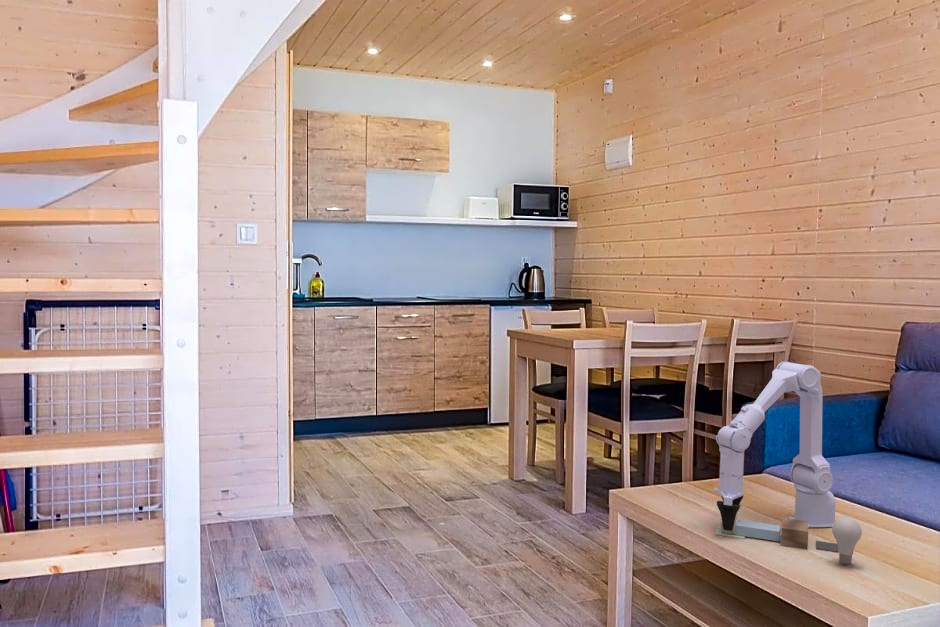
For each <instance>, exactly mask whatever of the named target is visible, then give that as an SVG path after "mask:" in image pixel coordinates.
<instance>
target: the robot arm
mask: <svg viewBox="0 0 940 627" xmlns="http://www.w3.org/2000/svg"><path fill="white" fill-rule="evenodd" d="M821 374H822V372H821V371H820V370H819V369H817V368H816V367H815V366H814V365H811V364H801V363H795V362H790V361H781V362H780V363H778V365H777V366H776V367H775V368H774V369H773V370H772V372H771V379H770V380H769V382H768V383H767V385H766V386H765V387H764V388H763V390H762V391H761V393H759V395H758V397H757V398H756V400H754V402H753V403H750V404H748V403H747V404H746V405H744V406H742V407H741V408H740V411H739V412H738V413H737V415H736V416H735V417H734V418H733V419H732V420H731V421H730V422H729V424H728V425H724V426H723V427H722V428H720V429H719V430H718V432H717V435H716V436H715V440H716V443H717V444H718V446H719V447H718V448H719V449H718V450H719V452H720V457H719V459H720V460H719V461H720V462H719V480H718V482H719V483H718V484H719V485H718V487H714V488H713V489H714V490H713V492H714V493H718V494H719V495H720V497H721V499H722V500H717V501H716V506H717V509H718V510H719V514H720V516H721V526H722V525H723V529H724V530H728V531H732V530H733V526H734V522H735V517H736V514H737V512H738V513H739V510H740V509H741V502H742V500H743V499H744V486H743V485H744V463H745V462H744V461H745V450H747V449H748V448H749V446H750V444H751V439H752V438H753V434H754V433H755V431H756V430H757V429H758V428H759V427H760V426H761V424H762V423H763V422H764V421H765V420H766V415H765V413H766V412H767V410H769V408H770V407H772V405H774V403H775V402H776V401H778V399H780V397H781V396H783V394H784V393H789V392H794V393H796V394H797V395H798V396H799V453H798V454H797V455H796V456H795V457H793V459H792V466H791V469H790V471H789V478H790V481H791V482H792V484H793V487H794V489H795V501H794V503H795V504H794V515H793V516H789V515H788V516H787V519H794V520H802V521H808V528H832V526H833V523H834V522H835V521H836V499H835V495H834V494H833V493H832V491H830V489H831V488H832V487H833V482H834V478H833V475H832V472H831V464H830V463H829V462H828V460H826V459H825V457H824V456H823V401H824V400H823V397H824V396H823V394H824V392H823V387H822V384H821V377H822V376H821Z"/></svg>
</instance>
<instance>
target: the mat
mask: <svg viewBox="0 0 940 627" xmlns="http://www.w3.org/2000/svg"><path fill="white" fill-rule="evenodd" d="M721 530H722V525H717V528H716V531H715V533H714V534H715V535H717V536H723V537H731V538H737V539H745V538H746V536H741V535H734V534H727V533H721Z"/></svg>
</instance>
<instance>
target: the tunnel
mask: <svg viewBox="0 0 940 627" xmlns="http://www.w3.org/2000/svg"><path fill="white" fill-rule="evenodd" d="M808 542H809V527H808V521H802V520H794V519H788V517H787V518H786V517H782V520H781V527H780V546H781V547H787V548H788V547H789V548H794V549H800V550H801V549H802V550H807V551H808V545H809V544H808Z"/></svg>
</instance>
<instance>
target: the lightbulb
mask: <svg viewBox="0 0 940 627" xmlns="http://www.w3.org/2000/svg"><path fill="white" fill-rule="evenodd" d="M831 531H832V534H833V537H834V539H835V541H836V544H838V552H839V553H838V552H837V553H838V559H839V562H840V563H842V564H843V565H844V566H847V565H848V566H849V565H850V564H851V563H852V560H853V555H854V552H855V551H854V550H855V547H856V545H857V544H858V542H859V541H860V539H861V537H862V527H861V525H860V524H859V522H858V521H857V520H855V519H854V518H852V517H848V516H841V517H838V518H837V519H835V522H834V523H833V526H832V527H831Z"/></svg>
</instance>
